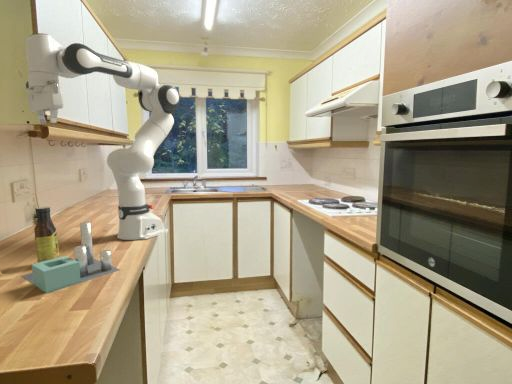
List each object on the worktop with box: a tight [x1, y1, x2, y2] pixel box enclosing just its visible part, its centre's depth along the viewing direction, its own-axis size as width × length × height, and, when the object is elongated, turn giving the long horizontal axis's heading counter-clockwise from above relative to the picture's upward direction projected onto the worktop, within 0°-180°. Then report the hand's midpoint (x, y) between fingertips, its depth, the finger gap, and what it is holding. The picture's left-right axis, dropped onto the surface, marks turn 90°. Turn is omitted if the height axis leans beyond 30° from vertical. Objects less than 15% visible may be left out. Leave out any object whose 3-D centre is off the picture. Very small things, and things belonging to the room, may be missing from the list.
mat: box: [21, 258, 121, 294], centre depth 101 cm, size 21×20×1 cm
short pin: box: [99, 249, 113, 271], centre depth 103 cm, size 3×3×6 cm
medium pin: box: [73, 244, 88, 278], centre depth 98 cm, size 3×3×9 cm
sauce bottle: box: [33, 206, 60, 263], centre depth 108 cm, size 7×6×20 cm
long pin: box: [79, 221, 95, 265], centre depth 108 cm, size 3×3×14 cm
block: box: [31, 255, 81, 294], centre depth 92 cm, size 9×9×6 cm
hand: (48, 123), depth 114 cm, fingers open, 8 cm apart
